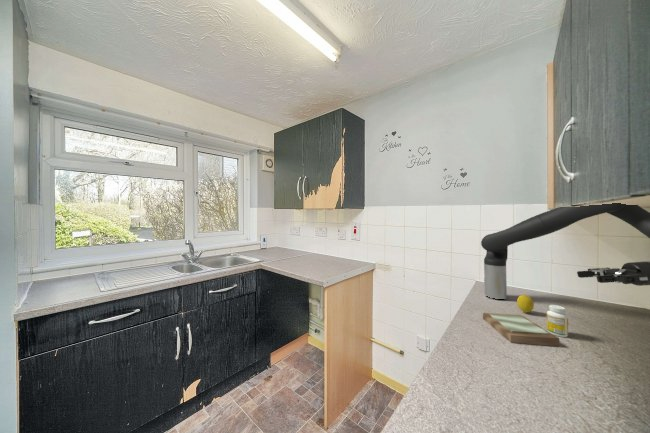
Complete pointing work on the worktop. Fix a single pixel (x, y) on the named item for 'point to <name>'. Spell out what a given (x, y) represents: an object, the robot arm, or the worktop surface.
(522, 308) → the lemon
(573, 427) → the worktop surface
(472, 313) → the worktop surface
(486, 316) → the brown flat wooden block
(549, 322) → the supplement bottle
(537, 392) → the worktop surface
